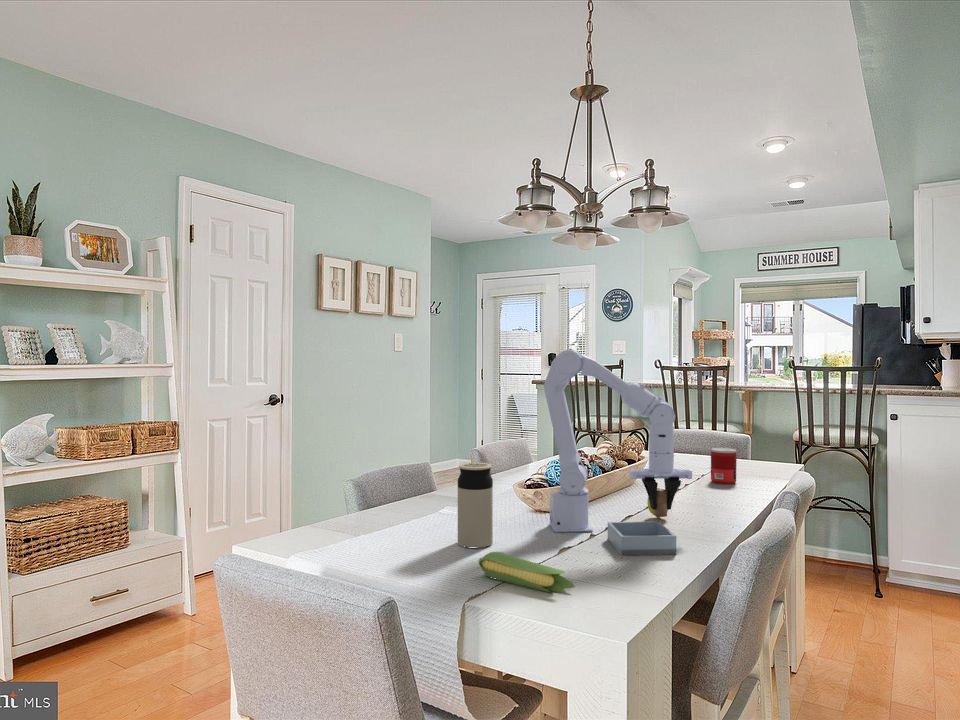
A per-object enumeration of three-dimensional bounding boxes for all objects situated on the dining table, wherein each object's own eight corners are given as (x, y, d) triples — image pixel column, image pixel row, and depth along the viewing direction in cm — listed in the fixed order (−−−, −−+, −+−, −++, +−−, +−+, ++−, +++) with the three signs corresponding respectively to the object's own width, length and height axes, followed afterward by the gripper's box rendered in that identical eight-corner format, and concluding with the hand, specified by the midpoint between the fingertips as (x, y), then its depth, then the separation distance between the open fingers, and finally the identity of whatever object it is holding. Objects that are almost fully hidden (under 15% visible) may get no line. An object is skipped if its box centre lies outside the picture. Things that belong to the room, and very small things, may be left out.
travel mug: (497, 547, 146) (497, 467, 146) (462, 550, 144) (462, 468, 144) (486, 537, 154) (486, 461, 154) (453, 540, 152) (453, 462, 151)
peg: (656, 516, 156) (656, 491, 156) (652, 513, 159) (652, 489, 159) (668, 516, 156) (669, 491, 156) (664, 513, 159) (664, 488, 159)
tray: (621, 555, 141) (621, 536, 141) (607, 539, 153) (607, 522, 153) (676, 554, 141) (676, 536, 141) (658, 538, 153) (658, 521, 153)
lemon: (670, 521, 168) (670, 490, 168) (647, 520, 169) (648, 489, 169) (668, 516, 174) (668, 486, 174) (646, 515, 175) (647, 485, 175)
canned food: (739, 484, 215) (740, 451, 214) (715, 484, 215) (715, 451, 215) (731, 480, 222) (731, 447, 222) (707, 479, 222) (707, 447, 222)
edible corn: (489, 548, 132) (477, 547, 128) (578, 571, 120) (567, 571, 116) (484, 575, 131) (472, 574, 127) (574, 600, 119) (562, 601, 115)
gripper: (636, 454, 153) (635, 512, 153) (697, 454, 154) (696, 512, 154) (627, 450, 160) (627, 505, 160) (686, 450, 161) (685, 505, 161)
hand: (660, 508), depth 157 cm, fingers closed on peg, 3 cm apart
